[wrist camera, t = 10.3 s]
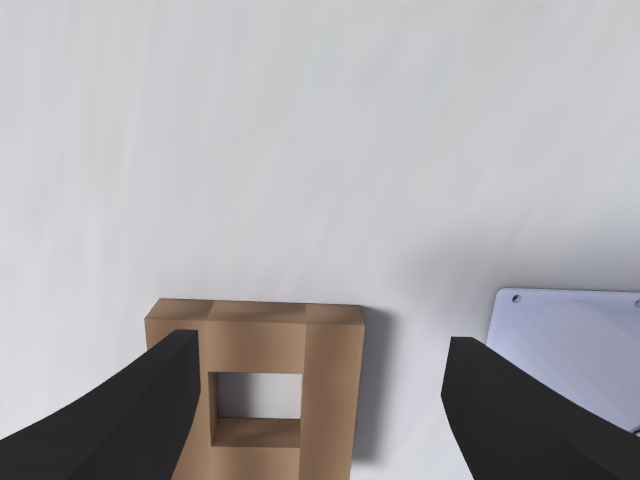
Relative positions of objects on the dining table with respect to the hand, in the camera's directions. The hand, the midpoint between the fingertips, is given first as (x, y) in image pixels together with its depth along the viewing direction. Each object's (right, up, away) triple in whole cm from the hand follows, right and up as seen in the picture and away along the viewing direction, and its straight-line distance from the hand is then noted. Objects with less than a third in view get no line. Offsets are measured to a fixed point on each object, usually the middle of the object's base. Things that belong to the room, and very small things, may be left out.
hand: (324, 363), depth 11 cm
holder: (-4, -5, +13) cm, 14 cm away
